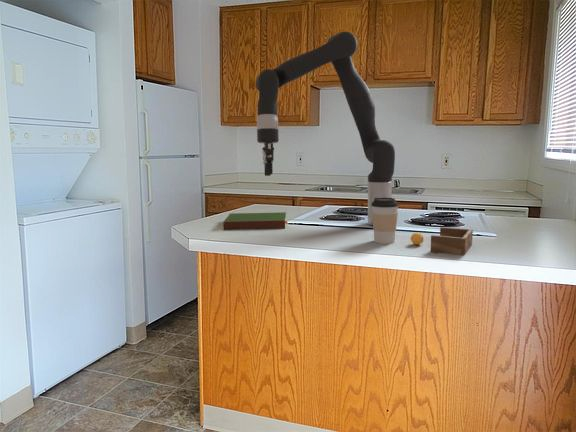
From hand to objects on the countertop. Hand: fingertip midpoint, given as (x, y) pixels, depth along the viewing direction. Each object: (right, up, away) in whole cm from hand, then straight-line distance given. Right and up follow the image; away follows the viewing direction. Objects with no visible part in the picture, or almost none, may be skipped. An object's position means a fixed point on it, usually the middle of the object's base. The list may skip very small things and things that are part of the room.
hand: (268, 175), depth 165 cm
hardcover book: (-6, -19, +29) cm, 35 cm away
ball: (+49, -24, -11) cm, 56 cm away
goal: (+59, -25, -17) cm, 66 cm away
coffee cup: (+40, -23, -6) cm, 46 cm away
